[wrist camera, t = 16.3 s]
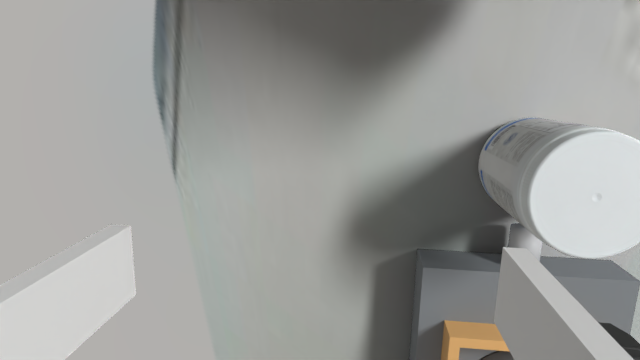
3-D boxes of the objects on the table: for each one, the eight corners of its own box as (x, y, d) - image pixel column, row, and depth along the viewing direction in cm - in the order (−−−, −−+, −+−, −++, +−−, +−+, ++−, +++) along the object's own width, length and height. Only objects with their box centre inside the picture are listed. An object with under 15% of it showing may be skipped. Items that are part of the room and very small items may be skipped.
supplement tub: (565, 210, 45) (656, 269, 31) (471, 205, 46) (517, 260, 32) (580, 116, 43) (685, 132, 29) (481, 113, 44) (535, 127, 30)
